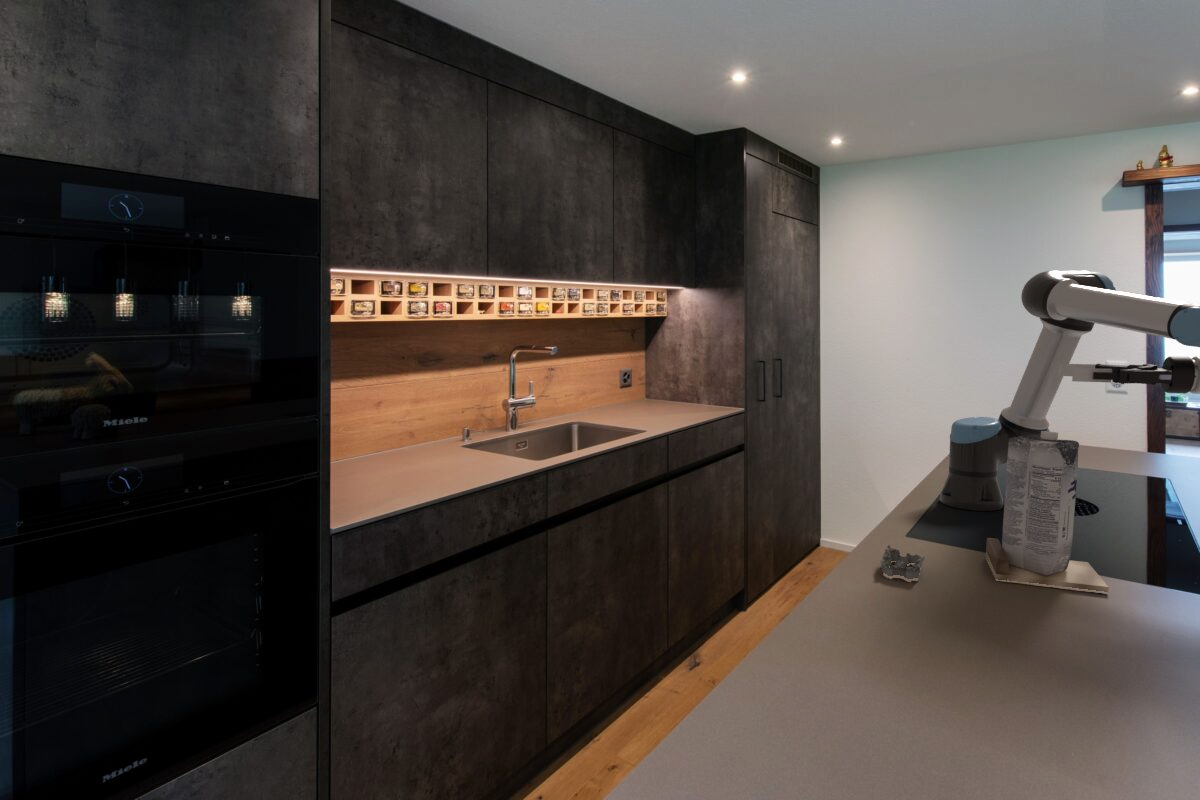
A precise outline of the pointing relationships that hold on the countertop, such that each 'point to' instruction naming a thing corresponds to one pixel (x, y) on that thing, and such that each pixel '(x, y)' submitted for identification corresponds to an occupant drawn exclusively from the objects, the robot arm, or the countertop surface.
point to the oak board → (1058, 576)
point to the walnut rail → (997, 556)
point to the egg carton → (901, 563)
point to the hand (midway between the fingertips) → (1065, 372)
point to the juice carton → (1040, 502)
